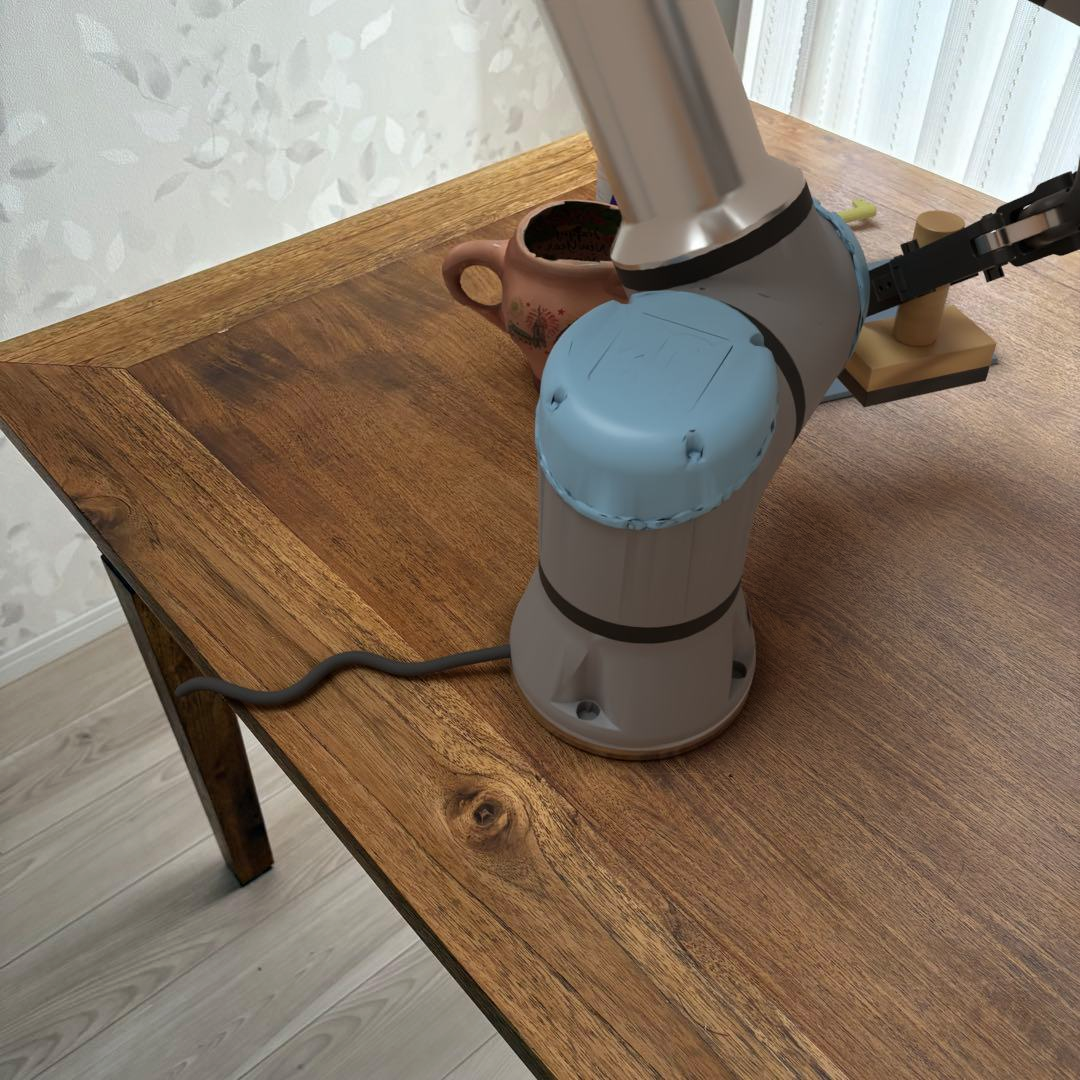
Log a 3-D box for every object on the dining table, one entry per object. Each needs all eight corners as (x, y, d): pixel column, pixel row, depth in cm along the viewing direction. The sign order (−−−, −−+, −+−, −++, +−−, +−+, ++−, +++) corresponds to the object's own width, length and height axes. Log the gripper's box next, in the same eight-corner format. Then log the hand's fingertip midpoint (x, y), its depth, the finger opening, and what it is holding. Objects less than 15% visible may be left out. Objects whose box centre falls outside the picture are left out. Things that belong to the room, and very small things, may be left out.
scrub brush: (863, 408, 71) (895, 252, 64) (826, 366, 75) (853, 214, 68) (986, 381, 73) (1031, 226, 66) (944, 342, 77) (982, 191, 69)
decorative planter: (437, 422, 86) (424, 265, 76) (456, 330, 94) (447, 178, 84) (696, 434, 85) (717, 277, 75) (692, 340, 93) (711, 187, 83)
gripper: (1106, 284, 49) (802, 381, 71) (1330, 196, 55) (983, 311, 77) (1054, 120, 49) (763, 269, 70) (1285, 48, 54) (949, 207, 76)
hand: (878, 291), depth 73 cm, fingers closed on scrub brush, 3 cm apart
